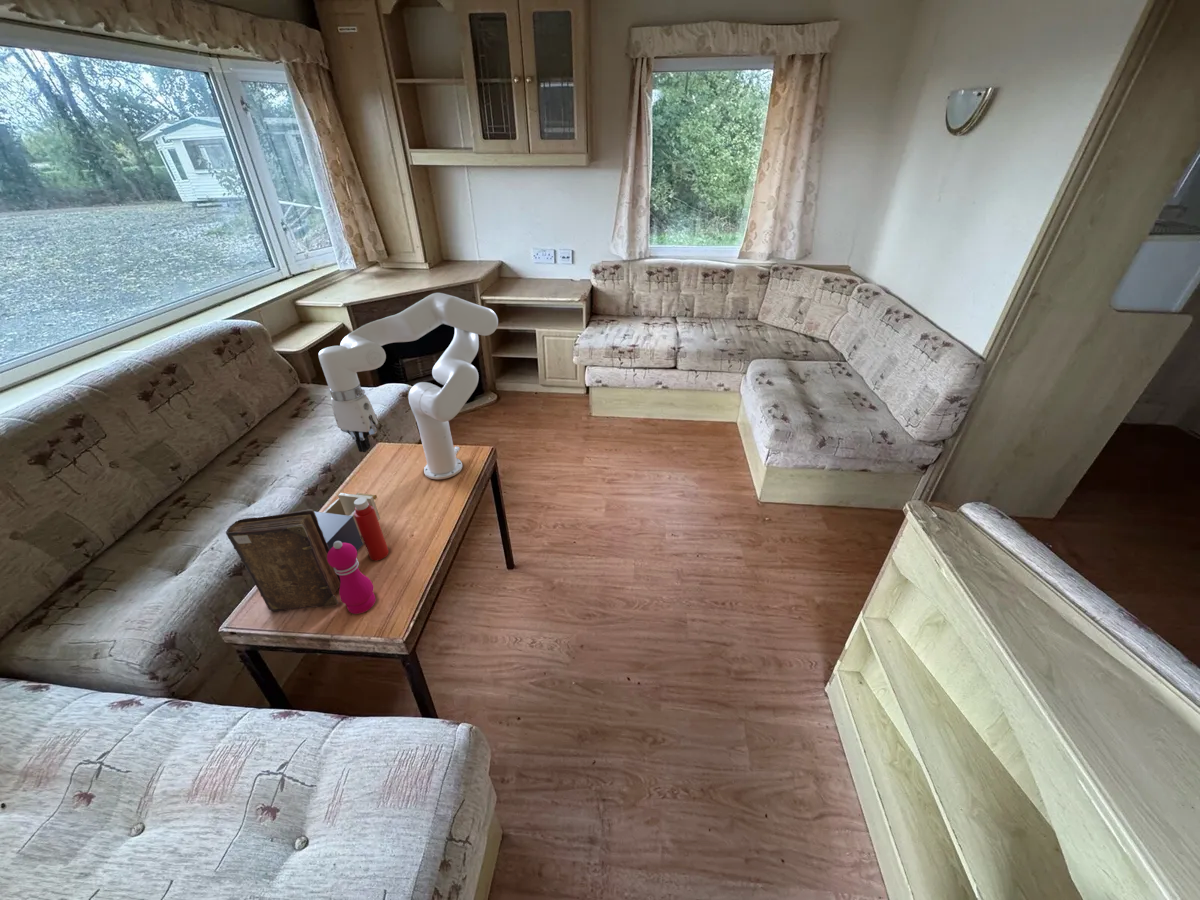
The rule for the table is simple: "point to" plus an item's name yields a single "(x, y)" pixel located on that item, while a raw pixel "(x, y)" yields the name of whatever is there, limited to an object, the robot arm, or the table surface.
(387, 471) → the table surface
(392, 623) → the table surface
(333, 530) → the dark blue angular piece
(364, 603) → the pepper mill
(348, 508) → the drawer
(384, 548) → the ketchup bottle
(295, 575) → the book
